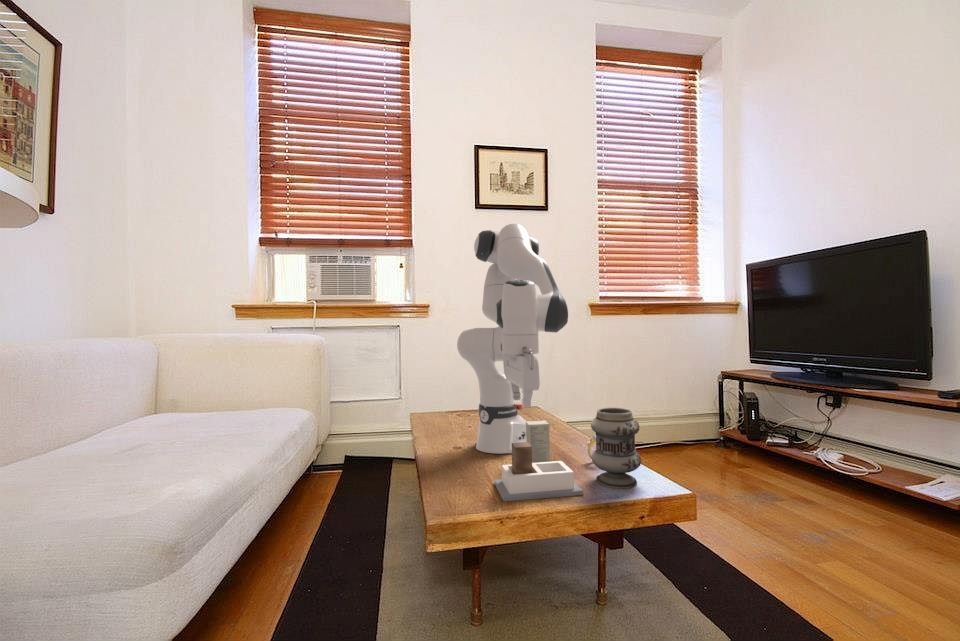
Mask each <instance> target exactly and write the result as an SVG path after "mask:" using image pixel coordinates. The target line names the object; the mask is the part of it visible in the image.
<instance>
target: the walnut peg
mask: <svg viewBox="0 0 960 641" xmlns="http://www.w3.org/2000/svg"><path fill="white" fill-rule="evenodd" d="M511 464H512V474H513V475H516V474H529V473H532V446H531V445H530V444H529V443H528V442H517V443H512V453H511Z"/></svg>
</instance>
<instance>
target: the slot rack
mask: <svg viewBox="0 0 960 641" xmlns="http://www.w3.org/2000/svg"><path fill="white" fill-rule="evenodd" d="M493 482H494V485H495V488H496V489H497V491H498V493H499V495H500V497H501V499H502V501H503V502H515V501H526V500H537V499H549V498H559V497H562V498H563V497H575V496H582V495H584V489H582V488H581V487H580V486H579V485H578V484H577V483H576V482H575V471H573V470H572V469H571V468H570V467H569V466H568V465H567V464H565V462H563V461H562V460H557V461H556V460H555V461H554V460H553V461H550V462H538V463H532V473H529V474H516V475H513V474H512V463H511V464H502V465H501V479H494V481H493Z"/></svg>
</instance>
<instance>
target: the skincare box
mask: <svg viewBox="0 0 960 641" xmlns="http://www.w3.org/2000/svg"><path fill="white" fill-rule="evenodd" d="M550 439H551V438H550V423H549V422H548V421H547V420H526V442H528V443H529V444H530V445H531V446H532V463H538V462H551V446H550Z"/></svg>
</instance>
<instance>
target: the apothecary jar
mask: <svg viewBox="0 0 960 641" xmlns="http://www.w3.org/2000/svg"><path fill="white" fill-rule="evenodd" d="M590 428H591V430H592V431H593V432H594V433H595V434H596V442H595V450H593V452H592V453H591V458H592V459H591V458H590V459H591V461H592V463H593V464H594V466H595V467H596V468H598V469H599V470H602V471H603V472H602V473H600V474H599V475H598V474H597V476H596V477H595V479H596V480H595V481H596V482H597V483H598V484H600V485H601V486H603V487H607V488H611V489H612V488H613V489H629V488H633V487H635V486H637V484H638V481H637V479H636V478H635V477H634V476H633V475H631V474H629V473H631V472H634V471H636V470H637V469H638V468H639V467H640V466H641V464H642V457H641V456H640V454H639V452H637V450H636V441H635V440H636V439H635V438H636V436H635V435H636V434H638V433H639V431H640V429H641V428H640V424H639V422H638V420H637V419H635V418H634V416H633V412H632V409H628V408H625V407H602V408H599V409H597V410H596V416H595V417H594V418H593V419H592V420H591V421H590Z"/></svg>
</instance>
